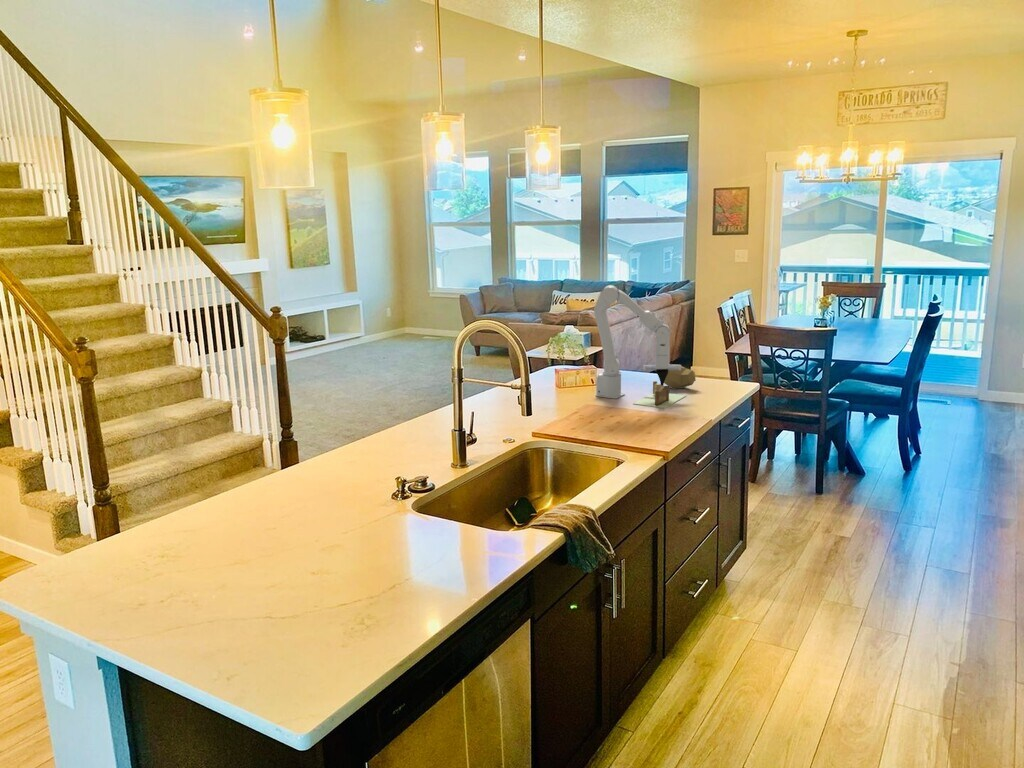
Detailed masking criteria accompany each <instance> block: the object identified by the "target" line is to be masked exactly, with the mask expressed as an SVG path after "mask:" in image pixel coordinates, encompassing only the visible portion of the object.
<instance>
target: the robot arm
mask: <svg viewBox="0 0 1024 768" xmlns="http://www.w3.org/2000/svg"><path fill="white" fill-rule="evenodd" d="M596 300H597V301H596V303H595V305H594V307H593V313H594V317H595V321H596V326H597V330H598V334H599V335H598V336H599V339H600V343H601V349H602V353H603V360H604V365H603V370H604V371H603V372H602V373H601V372H600V373H598V374H597V377H596V381H595V382H596V383H595V384H596V385H595V386H596V387H595V388H596V391H595V393H596V394H595V397H600V398H609V399H619V398H621V397H624V396H625V394H626V393H623V392H622V372H621V371H620V369H621V360H620V358H619V357H618V356H617V353H616V350H615V345H614V340H613V337H612V332H611V327H610V323H609V319H608V314H607V311H608V309H609V308H610V306H611V305H613V304H614V303H615V302H616V304H617V305H624V306H625V307H627V308H628V309H629V310H630V311H631V312H632V313H634V314H635V315H636V316H637V317H638V319H639V323H641V324H642V326H644V327H645V328H646V329H648V331H650V332H651V333H654V335H655V343H654V364H644V365H643V368H642V369H643V372H645V371H656V374H657V376H658V378H659V379H658V380H659V381H660V384H661V385H663V386H664V385H665V383H664V381H665V378H666V376H667V374H668V370H679V371H680V370H681V366H682V364H678V365H673V364H671V363H670V361H671V360H670V354H671V349H670V348H671V344H670V341H671V339H670V337H671V329H670V327H669V325H668V324H667V323H666V322H665V321H664V320H663V319H662V320H661V319H660V318H659V317H657V316H656V312H654V311H653V310H652V311H651V310H644V308H642V307H641V306H640V305H639V304H638V303H636V302H635V301H634V299H632V298H631V297H630V296H629V295H628V294H626V293H625V292H624V291H623V290H621V289H618V288H617V286H615V285H614V284H608V285H606V286H605V287H604V288H603V289H602V290H601V291H600V293H599V296H598V298H597V299H596Z"/></svg>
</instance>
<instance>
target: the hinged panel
mask: <svg viewBox="0 0 1024 768" xmlns="http://www.w3.org/2000/svg"><path fill="white" fill-rule="evenodd" d="M664 386H665V385H664V384H663V385H661V383H658V381H656V380H655V381H652V394H655V391H659V390H661V389H663V388H664Z"/></svg>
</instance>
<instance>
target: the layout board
mask: <svg viewBox="0 0 1024 768" xmlns="http://www.w3.org/2000/svg"><path fill="white" fill-rule="evenodd" d="M686 397H687V395H685V394H678V393H671V392H669V400H665V401H663V402H661V403H660V404H659V406H656V405H655V394H653V393H651V394H649V395H647V396H644V397H643V398H641V399H639V400H636V402H633V405H636V406H645V407H650V408H651V407H654V408H660V409H666V408H668V407H670V406H671V405H673V404H675V403H678V402H679V401H681V400H682V399H684V398H686Z"/></svg>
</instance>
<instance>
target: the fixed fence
mask: <svg viewBox="0 0 1024 768" xmlns="http://www.w3.org/2000/svg"><path fill="white" fill-rule="evenodd" d="M663 386H664V388H663V389H661V390H659V391H655V405H656V406H659V404H660V403H661V402H663V401H665V400H669V393H670V387H669V386H668V385H663Z"/></svg>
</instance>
